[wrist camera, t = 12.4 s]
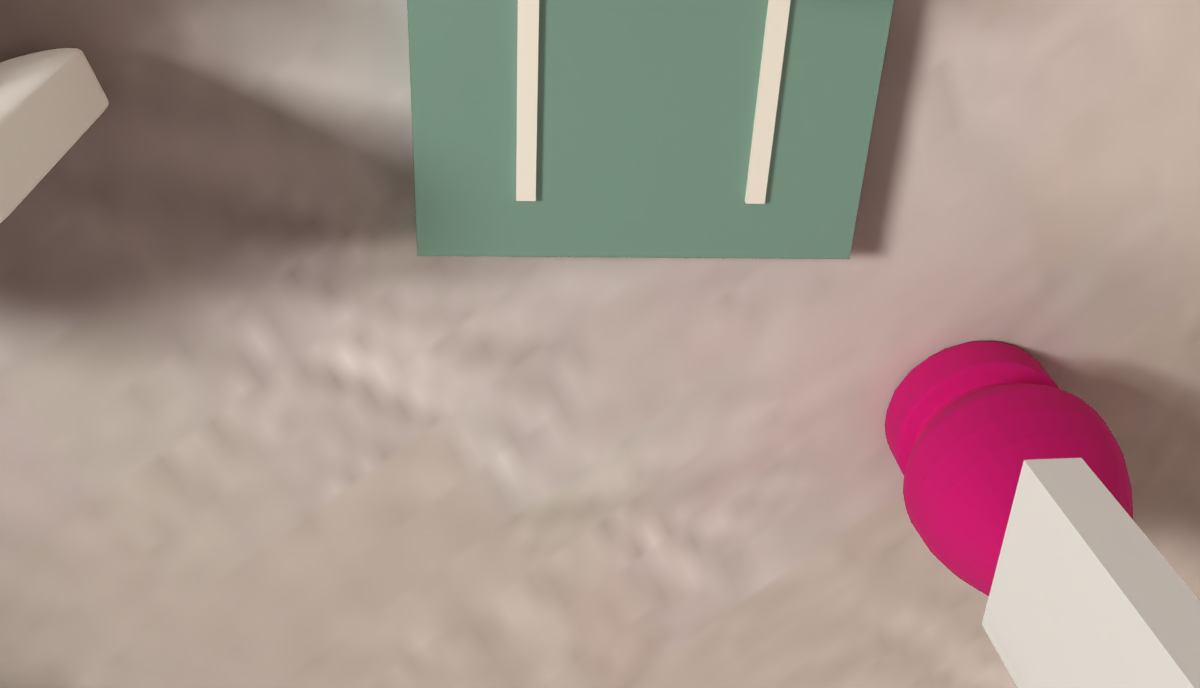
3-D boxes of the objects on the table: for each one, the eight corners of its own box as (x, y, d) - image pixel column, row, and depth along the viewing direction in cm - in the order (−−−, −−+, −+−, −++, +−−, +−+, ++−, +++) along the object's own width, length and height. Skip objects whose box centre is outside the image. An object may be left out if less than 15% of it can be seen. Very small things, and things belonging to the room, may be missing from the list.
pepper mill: (905, 514, 45) (1158, 1034, 28) (843, 379, 41) (1088, 878, 24) (1081, 440, 44) (1461, 936, 26) (1033, 294, 40) (1432, 756, 23)
